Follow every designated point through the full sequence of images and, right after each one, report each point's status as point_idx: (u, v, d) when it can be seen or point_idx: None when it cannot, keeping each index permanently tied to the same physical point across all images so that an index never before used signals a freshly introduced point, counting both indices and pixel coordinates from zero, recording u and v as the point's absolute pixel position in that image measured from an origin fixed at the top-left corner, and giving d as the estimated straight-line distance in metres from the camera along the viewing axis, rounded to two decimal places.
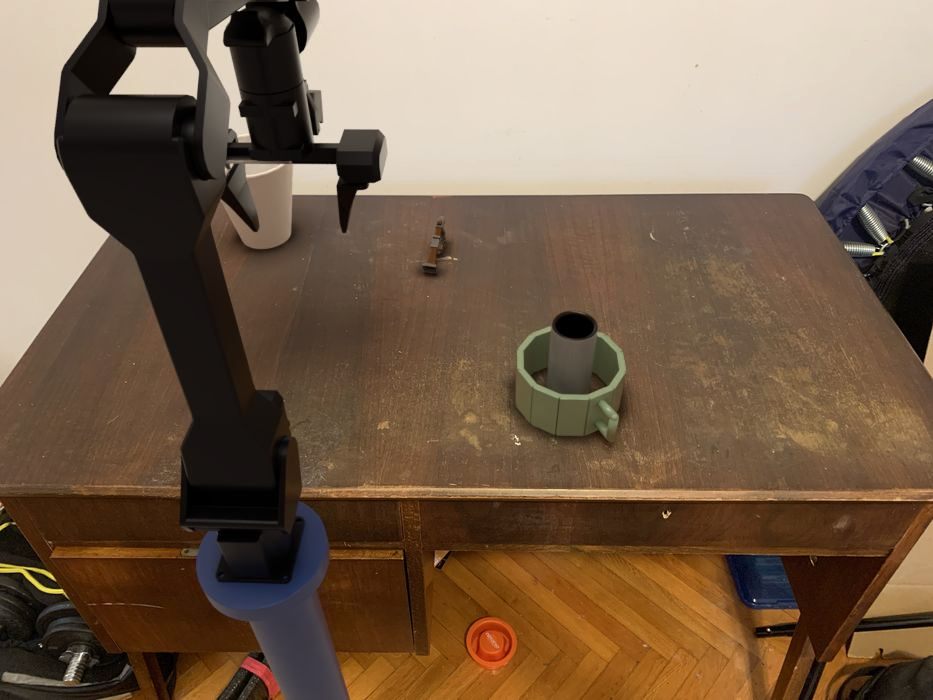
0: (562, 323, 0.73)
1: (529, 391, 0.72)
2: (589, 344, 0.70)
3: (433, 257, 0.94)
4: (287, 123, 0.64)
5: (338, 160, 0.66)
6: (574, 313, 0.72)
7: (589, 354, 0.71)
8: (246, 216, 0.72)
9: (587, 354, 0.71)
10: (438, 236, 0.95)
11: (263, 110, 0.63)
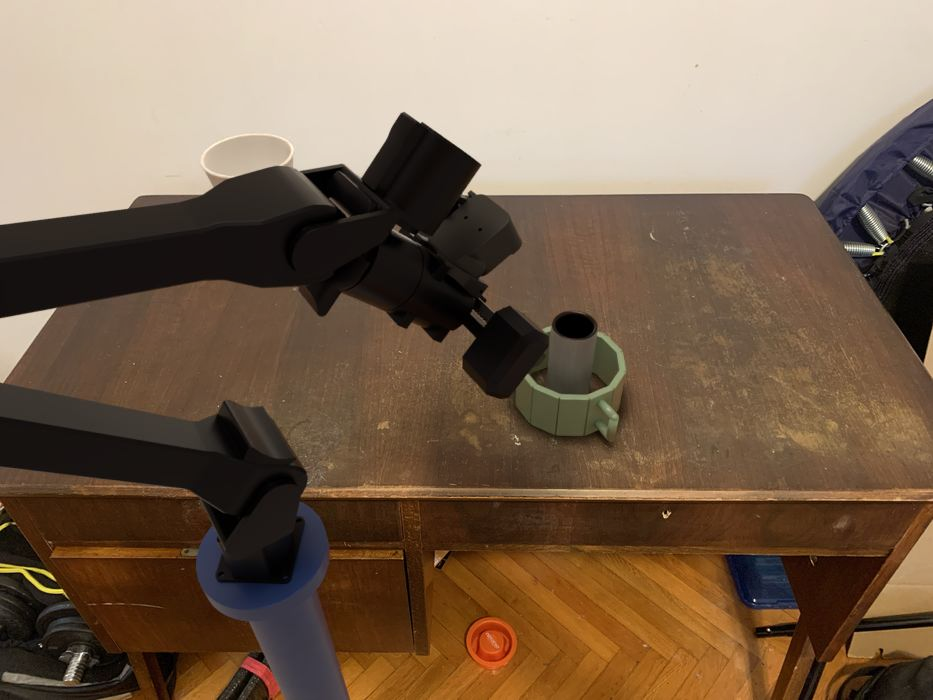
0: (562, 323, 0.73)
1: (529, 391, 0.72)
2: (589, 344, 0.70)
3: None
4: None
5: (464, 366, 0.56)
6: (574, 313, 0.72)
7: (589, 354, 0.71)
8: None
9: (587, 354, 0.71)
10: None
11: None
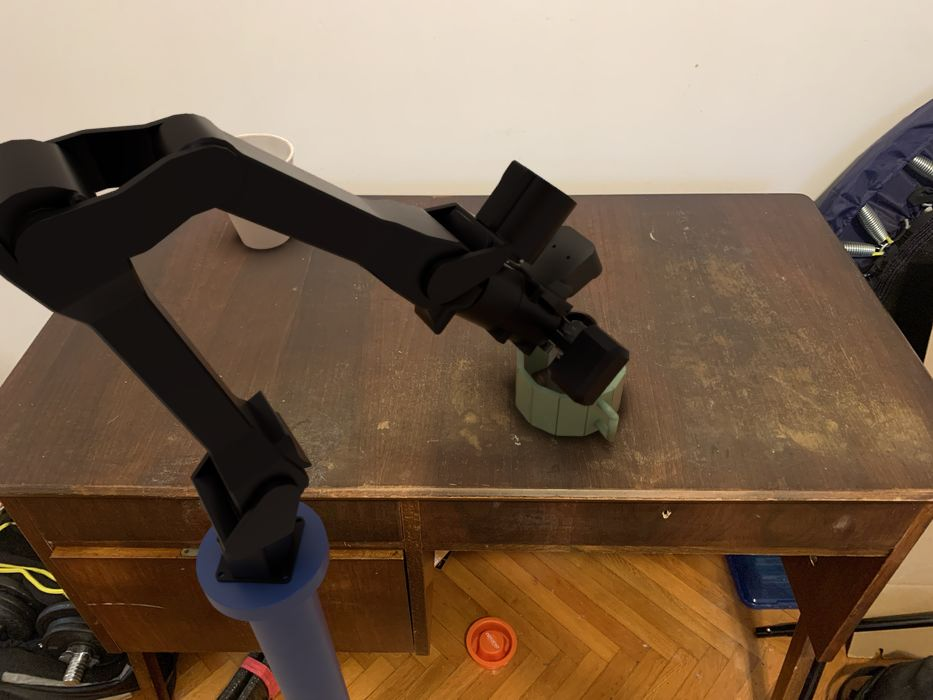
0: None
1: (529, 391, 0.72)
2: None
3: None
4: None
5: (552, 376, 0.64)
6: (574, 313, 0.72)
7: None
8: None
9: None
10: None
11: None
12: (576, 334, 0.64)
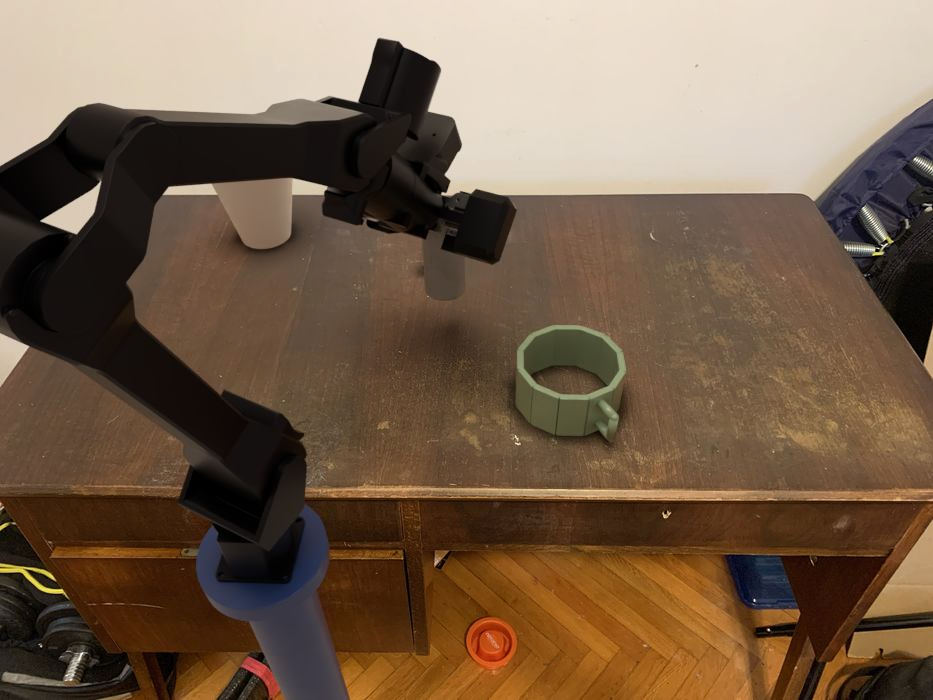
0: None
1: (529, 391, 0.72)
2: None
3: None
4: None
5: (456, 248, 0.67)
6: None
7: None
8: None
9: None
10: None
11: (379, 219, 0.65)
12: (462, 205, 0.68)
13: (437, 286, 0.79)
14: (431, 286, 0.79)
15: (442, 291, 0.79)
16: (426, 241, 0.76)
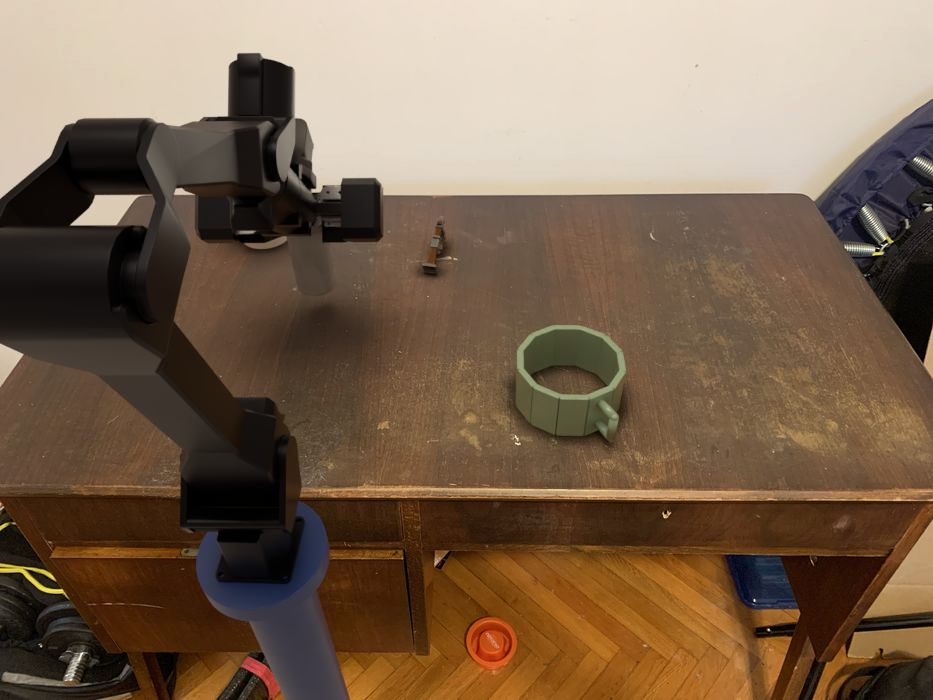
0: None
1: (529, 391, 0.72)
2: None
3: (433, 257, 0.94)
4: None
5: (343, 235, 0.72)
6: None
7: None
8: (280, 236, 0.79)
9: None
10: (438, 236, 0.95)
11: None
12: (333, 196, 0.73)
13: (313, 283, 0.83)
14: (307, 284, 0.83)
15: (319, 286, 0.83)
16: (296, 242, 0.79)
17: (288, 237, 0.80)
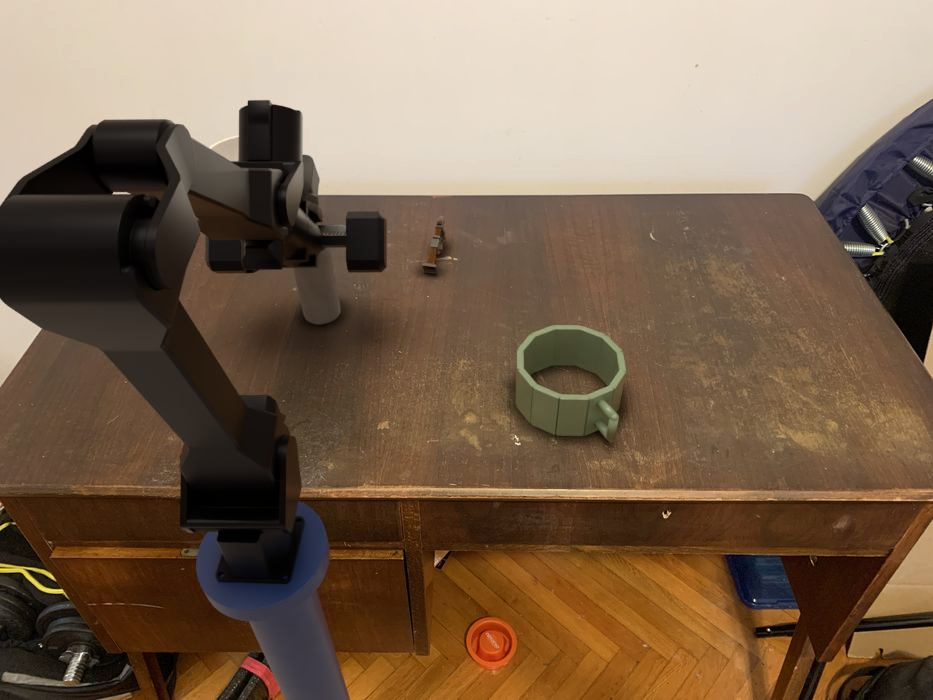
0: None
1: (529, 391, 0.72)
2: (329, 249, 0.82)
3: (433, 257, 0.94)
4: None
5: (349, 266, 0.75)
6: None
7: (331, 258, 0.84)
8: None
9: (331, 259, 0.83)
10: (438, 236, 0.95)
11: None
12: None
13: (319, 312, 0.86)
14: (313, 313, 0.86)
15: (325, 314, 0.86)
16: (302, 274, 0.82)
17: (295, 269, 0.82)
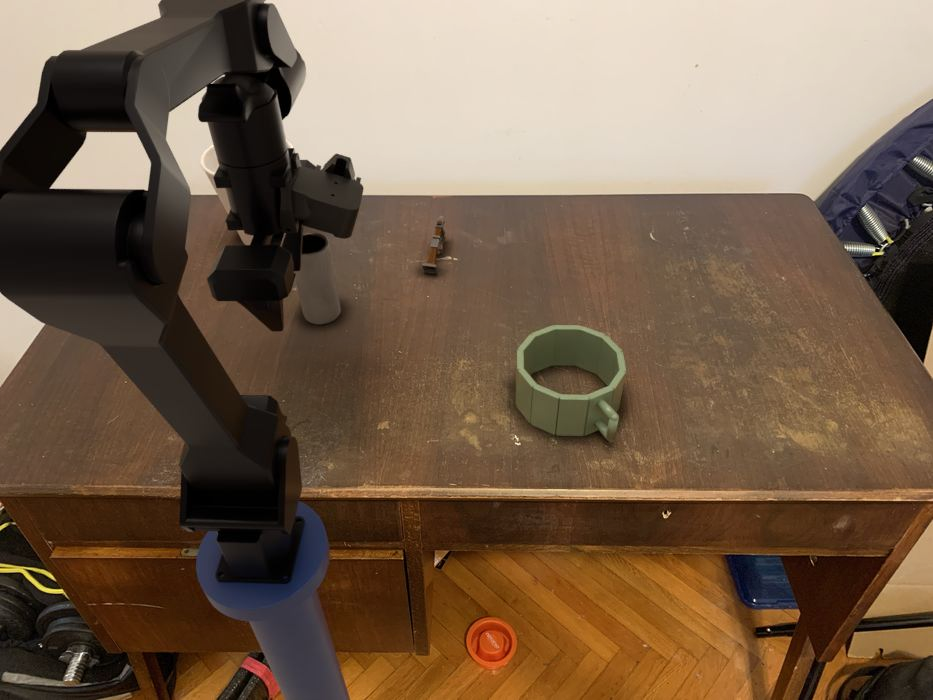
0: None
1: (529, 391, 0.72)
2: (329, 249, 0.82)
3: (433, 257, 0.94)
4: (226, 190, 0.60)
5: (219, 253, 0.60)
6: None
7: (331, 258, 0.84)
8: None
9: (331, 259, 0.83)
10: (438, 236, 0.95)
11: None
12: None
13: (319, 312, 0.86)
14: (313, 313, 0.86)
15: (325, 314, 0.86)
16: (302, 274, 0.82)
17: None
